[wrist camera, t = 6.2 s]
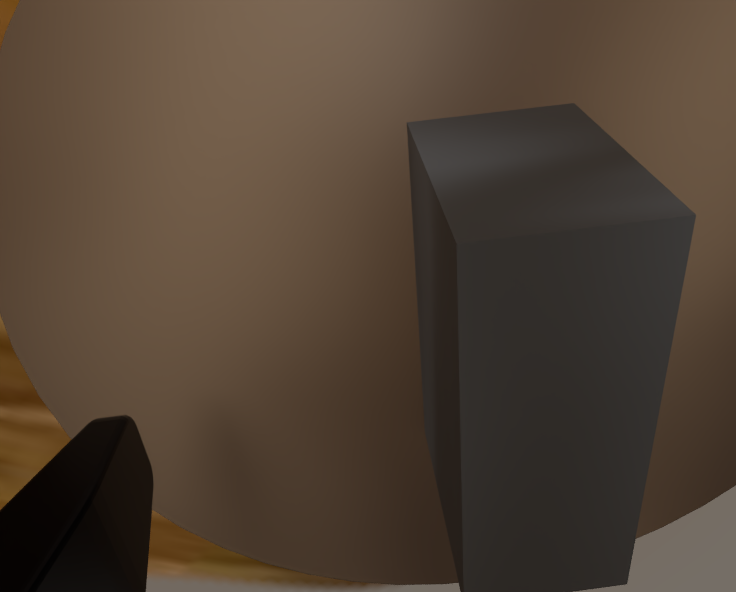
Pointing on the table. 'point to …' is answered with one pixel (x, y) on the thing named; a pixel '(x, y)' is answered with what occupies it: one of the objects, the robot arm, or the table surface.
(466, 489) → the walnut lid
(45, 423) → the table surface
